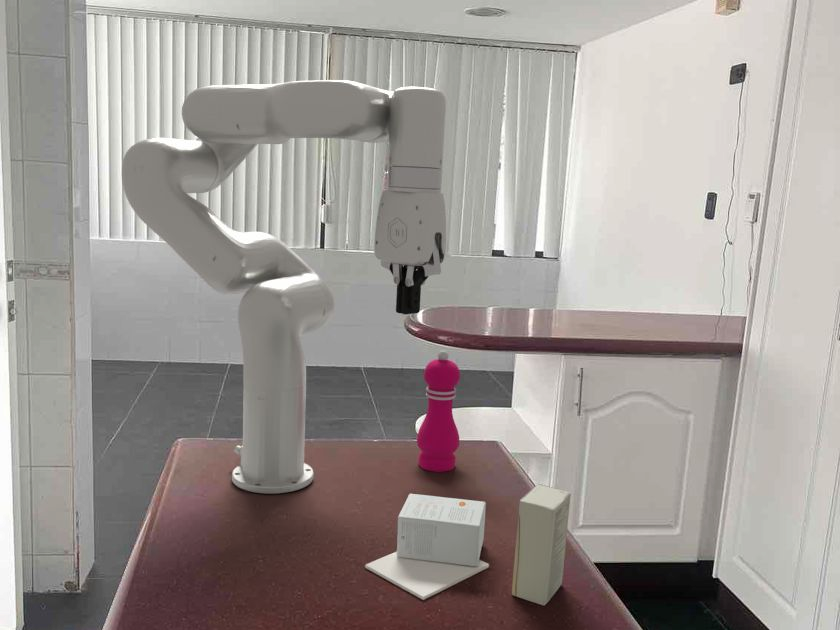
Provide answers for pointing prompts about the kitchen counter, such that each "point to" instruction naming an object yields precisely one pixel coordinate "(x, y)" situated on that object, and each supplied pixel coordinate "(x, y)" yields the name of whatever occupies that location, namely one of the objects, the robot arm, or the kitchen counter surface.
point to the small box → (441, 529)
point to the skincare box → (540, 543)
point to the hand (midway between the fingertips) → (407, 312)
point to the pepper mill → (439, 416)
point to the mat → (422, 573)
